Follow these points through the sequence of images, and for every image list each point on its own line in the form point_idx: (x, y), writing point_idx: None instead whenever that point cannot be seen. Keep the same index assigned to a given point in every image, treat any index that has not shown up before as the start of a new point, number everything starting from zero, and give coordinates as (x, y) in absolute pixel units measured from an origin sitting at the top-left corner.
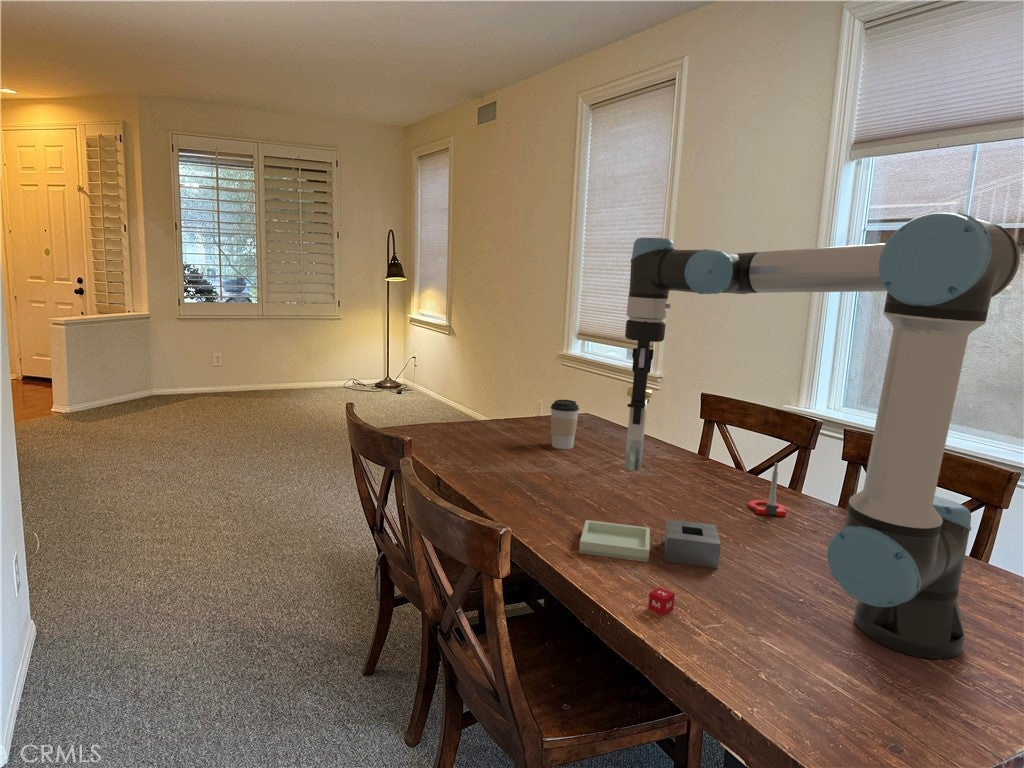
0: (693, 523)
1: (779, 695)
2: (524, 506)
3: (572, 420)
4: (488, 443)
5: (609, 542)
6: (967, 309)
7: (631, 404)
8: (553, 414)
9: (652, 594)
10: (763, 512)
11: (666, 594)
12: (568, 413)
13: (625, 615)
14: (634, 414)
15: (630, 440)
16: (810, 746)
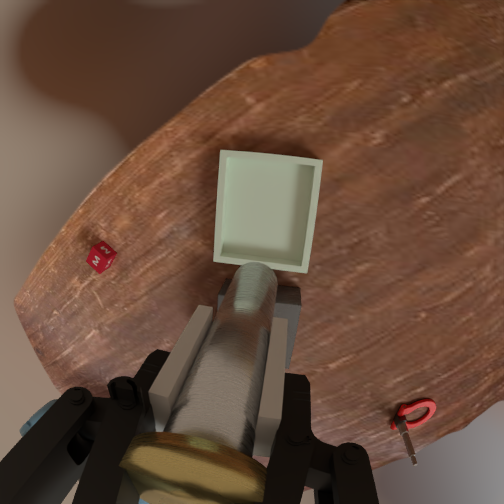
0: (288, 342)
1: (44, 314)
2: (405, 61)
3: None
4: None
5: (262, 199)
6: None
7: (68, 389)
8: None
9: (91, 249)
10: (398, 411)
11: (94, 264)
12: None
13: (85, 215)
14: (136, 379)
15: (218, 311)
16: (20, 312)
